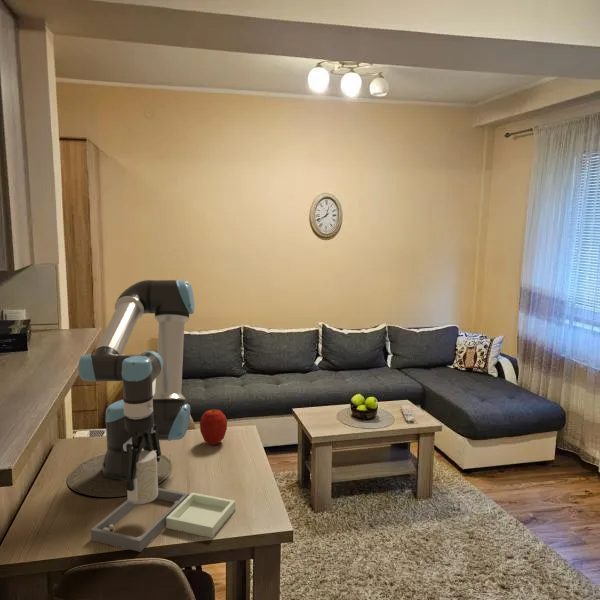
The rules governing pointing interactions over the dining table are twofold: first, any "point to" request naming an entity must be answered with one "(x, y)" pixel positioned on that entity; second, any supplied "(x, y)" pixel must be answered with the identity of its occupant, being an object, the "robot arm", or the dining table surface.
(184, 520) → the sage tray
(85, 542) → the dining table surface
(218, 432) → the apple
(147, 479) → the cup
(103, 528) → the gravel bin
